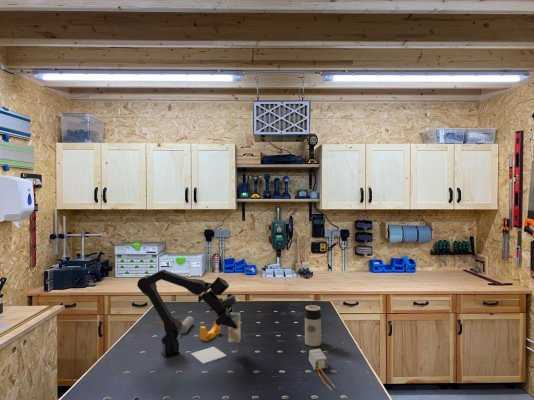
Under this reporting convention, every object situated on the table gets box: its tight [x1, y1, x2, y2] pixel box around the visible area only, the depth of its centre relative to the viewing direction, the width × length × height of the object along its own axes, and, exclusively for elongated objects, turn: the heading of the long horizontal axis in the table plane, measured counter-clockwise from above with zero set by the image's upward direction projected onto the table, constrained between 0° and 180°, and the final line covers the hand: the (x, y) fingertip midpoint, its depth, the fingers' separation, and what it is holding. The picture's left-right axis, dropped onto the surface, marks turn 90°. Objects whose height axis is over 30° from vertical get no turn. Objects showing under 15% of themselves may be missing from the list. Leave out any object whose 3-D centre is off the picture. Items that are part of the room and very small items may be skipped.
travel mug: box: [304, 304, 322, 347], centre depth 172 cm, size 8×8×18 cm
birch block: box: [227, 312, 242, 343], centre depth 160 cm, size 5×5×12 cm
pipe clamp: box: [199, 321, 221, 342], centre depth 181 cm, size 12×4×6 cm, turn 142°
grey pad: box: [190, 346, 227, 365], centre depth 159 cm, size 12×12×1 cm
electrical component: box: [308, 348, 336, 391], centre depth 142 cm, size 24×6×5 cm, turn 16°
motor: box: [153, 316, 195, 334], centre depth 192 cm, size 23×22×5 cm
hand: (237, 325), depth 160 cm, fingers closed on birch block, 5 cm apart
